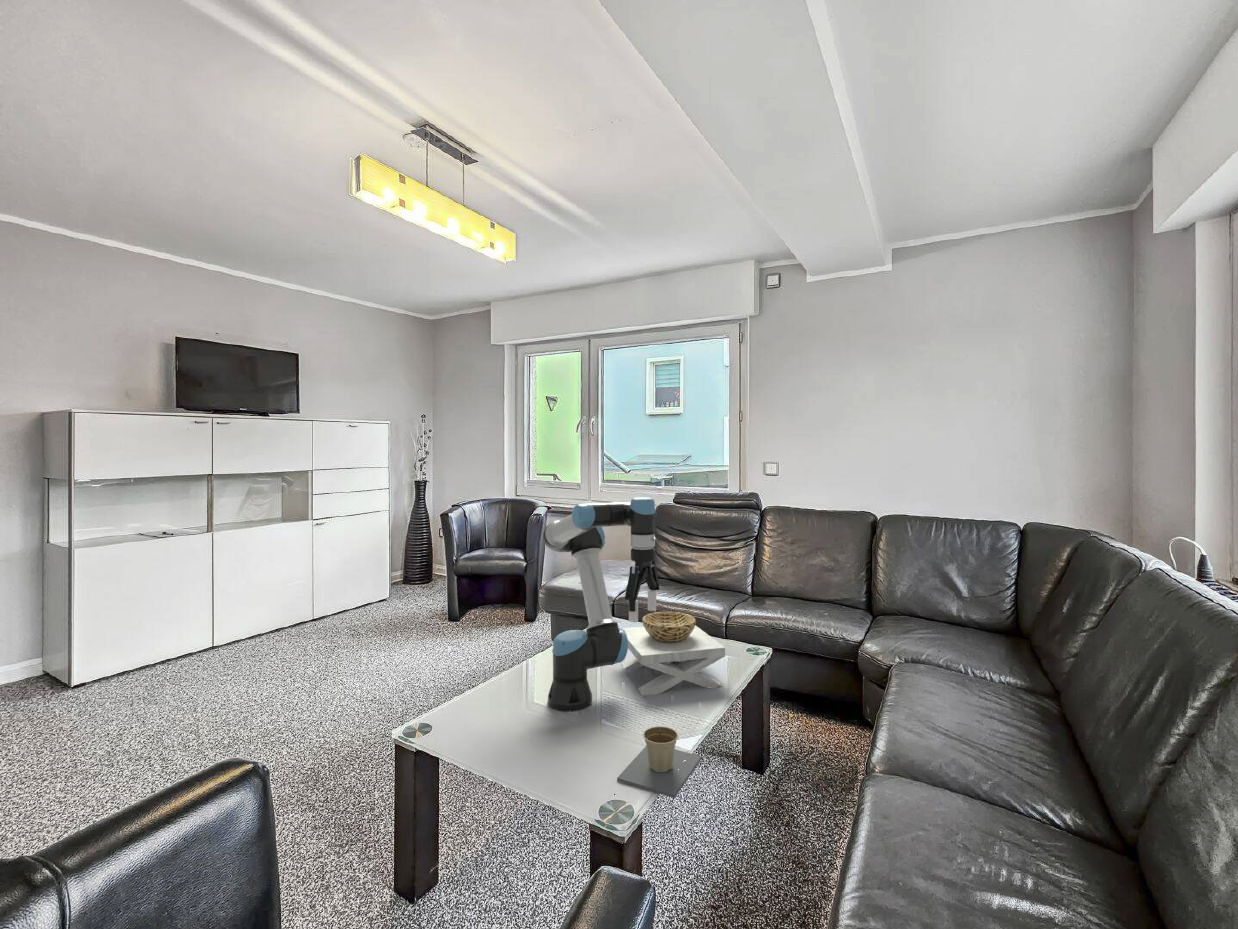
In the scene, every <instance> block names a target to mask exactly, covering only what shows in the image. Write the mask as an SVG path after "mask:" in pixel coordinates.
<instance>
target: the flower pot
mask: <svg viewBox="0 0 1238 929" xmlns="http://www.w3.org/2000/svg"><path fill="white" fill-rule="evenodd" d="M642 737H643V739H644V742H645V744H646V745H647V752H648V759H649V766H650V768H651V769H653V770H654V771H656V772H667V771H668V770H671V769H672V766H673V757H674V750H675V748H676V744H677V741H678V739H679V734H678V731H677V730H675V729H673V728H671V727H668V726H661V725H658V726H651V727H649V728H647V729H645V730H644V731H643V733H642ZM646 745H645V746H646Z"/></svg>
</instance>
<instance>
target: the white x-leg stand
mask: <svg viewBox="0 0 1238 929" xmlns="http://www.w3.org/2000/svg"><path fill="white" fill-rule="evenodd" d="M641 619H642V620H641V621H642V626H635V627H634V626H633V627H623V628H621V627H620V628H621V629H624V631H625V633H626V635H627V639H628V651H630V652H631V654H632V656H630V657H628V658H626V659H624V660H623V661H622V665H623V666H621V667H622V669H624V670H626V669H627V670H628V669H637V667H639V668H642V667H643V666H644V667H647V668H649V669H653V670H655V671H658V672H662V673H663V674H660V675H659V676H657V677H655V678H654V679H652V680H649V682H647V683H645V684H643V685H641V686H639V687H638V688H637V690H638V691H639V692H640V694H641V695H642V696H651V695H652V696H653V695H660V694H662V693H664V692H665V691H667V690H669V689H671V688H672V687H674V686H676V685H677V684H680V683H681V682H683V681H687V682H690V683H693V684H695V685H697V686H701V687H704V688H706V689H708V688H707V687H714V688H718V687H717V686H722V685H723V684H722V683H721V684H722V685H721V684H719V683H718V682H717V680H718V679H717V678H713V677H710V676H708V675H706V674H702V673H700V671H702V670H703V669H705V668H707V667H709V666H711V665H712V664H714V663H716V662H718V661H719V660H721V659H723V658H725V657H726V647H725V646H724V645H723V644H721V643H720V642H718V641H717V640H716V639H714V638H713V637H712V636H711V635H709V634H708V633H707V632H705V631H704V630H703V629H701V628H700V627H699V626H697V624H696V623H697V620H696V618H695V616H692V615H690V614H688V613H684V612H680V611H679V612H678V611H654V612H652V613H647V614H646V615H644V616H642V618H641ZM672 662H679V663H680V664H674V663H672ZM681 662H683V663H681ZM716 679H717V680H716ZM722 687H723V686H722Z"/></svg>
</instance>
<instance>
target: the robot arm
mask: <svg viewBox="0 0 1238 929" xmlns="http://www.w3.org/2000/svg"><path fill="white" fill-rule="evenodd" d="M618 526H620V527H621V526H622V527H623V526H628V527H630V547H631V549H630V560H631V561H633V562H634V563H635V564H634V566H632V565H631V566H630V567H629V573H628V574H629V576H628V579H627V585H626V590H625V594H624V599H625V601H628V622H630V623H637V624H638V623H639V600H638V599H637V598H638V595H639V592H640V589H641V586H642V582H644V581H645V582H646V584H647V586H648V587H647V588H648V589H647V611H649V612H651V611H652V612H657V591H660V580H659V576H658V575H659V574H658V570H657V568H656V565H657V564H656V549H655V548H654V547H655V546H656V541H657V537H656V502H655V499H654V498H652V497H645V496H644V497H642V496H640V497H638V496H637V497H632V498H631V500H630V501H628V500H623V501H617V502H600V503H587V502H585V503H580V504H576V505H575V506H573V509H572V512H571V514H569V515H567V516H566V517H564V518H562V519H560V520H554V521H552V522H550V523H548V524H547V525H546V526H545V527H544V528H543V531H542V536H541V537H542V541H543V543H544V544H545V545H544V546H546V547H547V548H548V549H549V550H551V551H553V552H557V553H571V558H572V559H573V560H575V561H576V562H577V569H578V572H579V578H580V579H579V580H580V584H581V588H582V589H581V590H582V594H583V599H584V605H585V610H586V614H587V620H588V626H587V627H586V628H585V630H583V629H570V630H565V631H563V632H561V633H558V634H557V635H556V636H555V637H554V638H553V641H552V650H551V652H552V683H551V685H550V687H549V688H550V689H549V691H548V694H547V704H548V706H549V707H550V708H552V709H554V710H556V711H559V712H560V711H561V712H577V711H580V710H583V709H586V708H588V707H590V706H591V704H592V703H593V692H592V691H591V690H592V689H591V688H590V684H589V681H588V670H589V669H595V668H596V669H597V668H600V667H605V666H614V665H615V664H618V663H619V664H620V663H621V662H623V661H625V660H626V656H627V653H628V651H629V649H628V639H627V635H626V633H625V631H624V629H621V627H619V624H618V622H617V621H616V620H615V619H613V616H612V611H611V606H610V602H609V596H608V593H607V592H608V591H607V588H606V583H605V578H604V574H603V568H602V564H601V560H600V556H601V554H602V552H603V550H602V549H603V548H604V547H605V544H606V541H605V540H606V535H605V532H604V531H605V530H604V529H603V527H604V528H605V527H618Z"/></svg>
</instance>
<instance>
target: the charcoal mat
mask: <svg viewBox="0 0 1238 929" xmlns="http://www.w3.org/2000/svg"><path fill="white" fill-rule="evenodd" d="M684 760H686V761H684ZM701 760H702V755H699V754H696V753H695V754H694V753H690V752H688V751H683V750H679V749H675V750H674V757H673V766H672V769H671V770H668V771H667V772H656V771H654V770H653V769H651V768H650V766H649V759H648V752H647V745H645V746H644V747H643V749H642V750H641V751H639V753H638V754H637V755H636V757H634V758H633V760H632V761H631V762H630V763H629V764H628V765H627V766H626V767H625V769H624V770H622V772H621V773H620V774H619V775H618V776H617V778H616V781H617V782H620V783H623V784H626V785H629V786H633V787H637V788H639V789H643V790H646V791H650V792H653V793H656V794H659V795H662V796H666V797H670V798H672V799H676V797H677V796H678V794H680V791H681V790H682V788H683V787H684V786H685V784H686V783H687V781H688V780H689V778H690V777H691V775H692V773H693V772H694V771H695V769H696V767H697V766H698V765H699V763H700V762H701ZM683 761H684V762H683ZM678 769H679V770H678Z"/></svg>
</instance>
